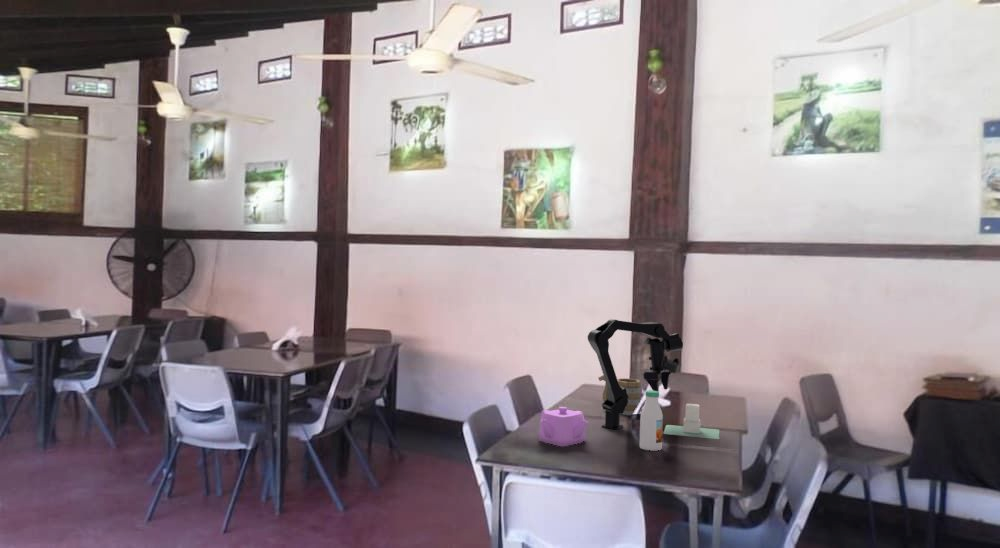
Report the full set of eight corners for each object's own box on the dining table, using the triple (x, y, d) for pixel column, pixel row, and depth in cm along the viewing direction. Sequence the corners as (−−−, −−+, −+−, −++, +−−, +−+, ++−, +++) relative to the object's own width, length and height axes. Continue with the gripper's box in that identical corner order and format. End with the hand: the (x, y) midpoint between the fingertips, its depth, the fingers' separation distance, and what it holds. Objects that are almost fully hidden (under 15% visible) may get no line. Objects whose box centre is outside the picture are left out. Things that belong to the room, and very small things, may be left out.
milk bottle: (649, 452, 236) (650, 393, 236) (634, 446, 243) (636, 390, 243) (666, 450, 240) (668, 392, 240) (652, 444, 247) (653, 388, 246)
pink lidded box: (582, 436, 257) (583, 403, 257) (588, 448, 240) (589, 412, 240) (536, 435, 257) (537, 402, 256) (539, 447, 240) (540, 411, 239)
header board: (662, 436, 259) (663, 427, 259) (666, 427, 274) (666, 418, 274) (719, 442, 252) (719, 432, 252) (719, 432, 268) (719, 423, 268)
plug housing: (683, 431, 262) (684, 405, 262) (683, 429, 266) (684, 403, 266) (699, 433, 260) (700, 406, 260) (700, 430, 264) (700, 404, 264)
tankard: (646, 411, 304) (647, 377, 303) (635, 416, 293) (636, 381, 293) (604, 405, 314) (605, 372, 314) (592, 410, 304) (593, 376, 303)
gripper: (667, 358, 265) (671, 398, 266) (685, 349, 280) (689, 387, 281) (640, 358, 272) (644, 397, 273) (659, 349, 287) (663, 386, 288)
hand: (661, 391), depth 278 cm, fingers open, 9 cm apart
